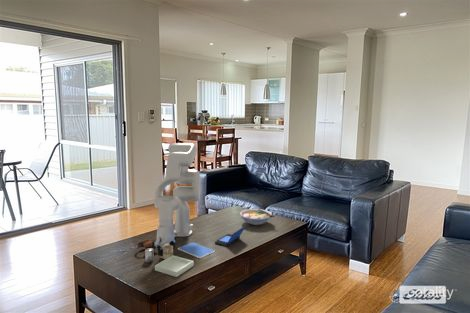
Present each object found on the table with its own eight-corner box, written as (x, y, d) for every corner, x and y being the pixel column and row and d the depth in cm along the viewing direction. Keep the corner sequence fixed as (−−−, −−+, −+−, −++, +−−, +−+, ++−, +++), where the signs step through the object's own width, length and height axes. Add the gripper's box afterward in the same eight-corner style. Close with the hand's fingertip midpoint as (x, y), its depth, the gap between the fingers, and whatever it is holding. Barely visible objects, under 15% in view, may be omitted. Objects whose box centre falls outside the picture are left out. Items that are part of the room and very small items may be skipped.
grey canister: (149, 258, 181) (149, 247, 181) (155, 259, 179) (155, 249, 178) (143, 261, 178) (143, 250, 177) (149, 263, 175) (149, 252, 175)
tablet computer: (176, 250, 193) (176, 247, 193) (193, 243, 203) (193, 241, 203) (199, 259, 181) (199, 257, 181) (215, 252, 190) (215, 250, 190)
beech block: (166, 254, 186) (166, 244, 186) (173, 256, 184) (173, 245, 183) (160, 257, 182) (159, 247, 181) (167, 259, 180) (167, 249, 179)
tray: (172, 259, 180) (172, 255, 179) (193, 265, 173) (193, 260, 173) (154, 270, 168) (154, 265, 167) (176, 277, 161) (176, 272, 161)
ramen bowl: (234, 220, 245) (234, 209, 244) (261, 216, 254) (262, 206, 253) (248, 231, 222) (248, 219, 221) (278, 227, 231) (278, 215, 230)
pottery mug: (139, 257, 183) (135, 243, 184) (140, 258, 191) (136, 244, 193) (161, 249, 186) (156, 235, 188) (161, 250, 195) (156, 237, 197)
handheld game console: (227, 235, 215) (227, 222, 214) (245, 240, 208) (246, 225, 207) (214, 244, 201) (214, 229, 200) (233, 248, 195) (233, 233, 193)
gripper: (170, 217, 189) (171, 245, 191) (149, 225, 174) (150, 256, 176) (181, 219, 186) (181, 248, 188) (160, 228, 171) (161, 259, 173)
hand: (166, 252), depth 182 cm, fingers open, 9 cm apart
